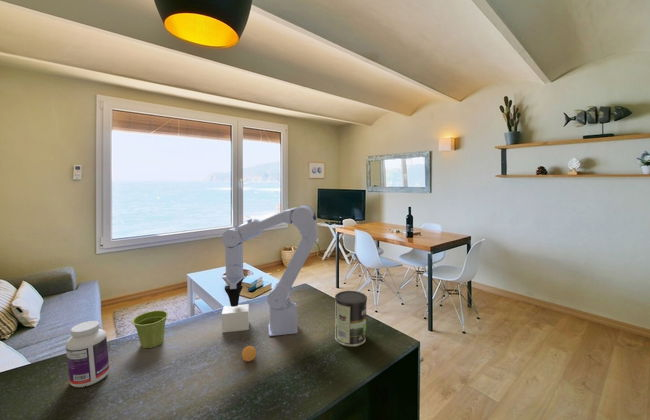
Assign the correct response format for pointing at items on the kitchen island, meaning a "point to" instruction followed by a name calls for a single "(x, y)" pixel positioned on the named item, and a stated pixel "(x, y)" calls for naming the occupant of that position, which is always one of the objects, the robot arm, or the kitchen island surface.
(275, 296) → the robot arm
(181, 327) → the kitchen island surface
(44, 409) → the kitchen island surface
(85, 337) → the pill bottle
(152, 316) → the plant pot
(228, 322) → the white rectangular prism
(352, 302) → the coffee can
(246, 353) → the ball
